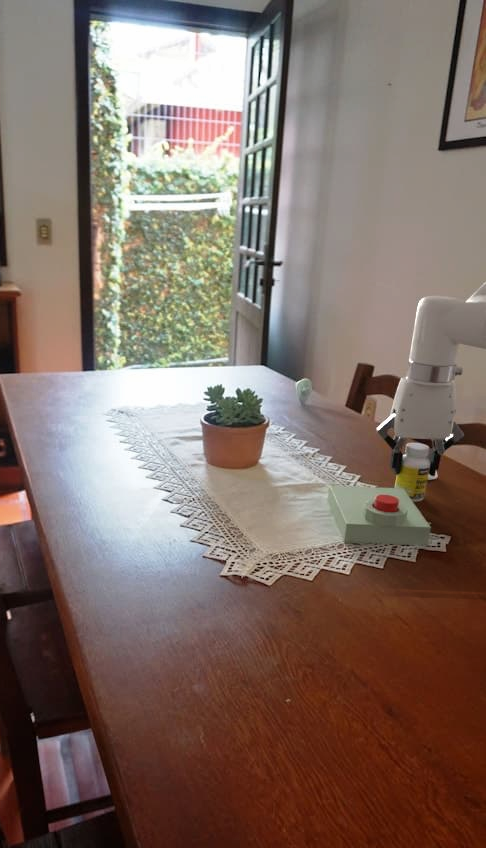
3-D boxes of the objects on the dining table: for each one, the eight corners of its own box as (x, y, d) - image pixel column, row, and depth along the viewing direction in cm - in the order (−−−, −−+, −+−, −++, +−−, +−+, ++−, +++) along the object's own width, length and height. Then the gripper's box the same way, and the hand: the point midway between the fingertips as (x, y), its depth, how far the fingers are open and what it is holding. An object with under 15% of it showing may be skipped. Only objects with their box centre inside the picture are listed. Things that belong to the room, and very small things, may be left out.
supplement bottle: (415, 505, 121) (424, 452, 117) (387, 496, 124) (396, 445, 120) (429, 497, 124) (438, 446, 121) (402, 489, 128) (410, 439, 124)
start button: (394, 505, 108) (395, 494, 108) (400, 514, 105) (401, 503, 104) (371, 504, 108) (373, 494, 108) (376, 513, 105) (378, 503, 104)
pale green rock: (290, 399, 186) (292, 375, 184) (304, 399, 187) (307, 375, 184) (301, 407, 179) (303, 382, 176) (315, 407, 180) (318, 382, 177)
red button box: (400, 505, 121) (405, 478, 119) (428, 546, 106) (433, 517, 104) (327, 502, 120) (330, 475, 118) (344, 543, 105) (348, 513, 103)
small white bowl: (411, 479, 133) (438, 482, 132) (414, 465, 131) (441, 468, 131) (409, 471, 137) (435, 473, 136) (412, 457, 136) (438, 459, 135)
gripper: (472, 370, 119) (453, 467, 126) (374, 365, 119) (360, 463, 126) (489, 379, 112) (467, 482, 119) (384, 375, 112) (369, 478, 119)
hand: (412, 471), depth 122 cm, fingers open, 5 cm apart
